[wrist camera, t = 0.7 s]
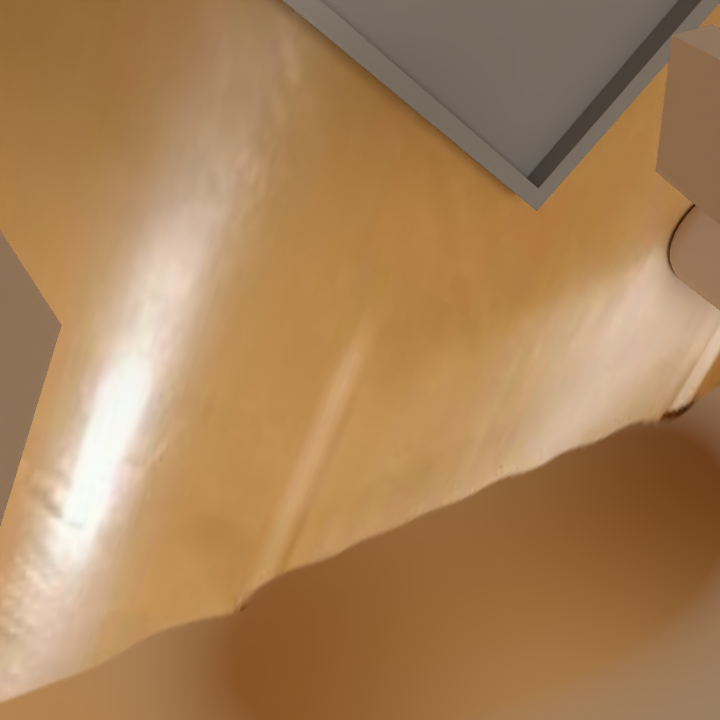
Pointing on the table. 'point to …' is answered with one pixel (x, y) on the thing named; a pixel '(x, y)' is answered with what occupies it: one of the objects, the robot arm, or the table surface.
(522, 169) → the tray
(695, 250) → the milk bottle
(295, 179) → the table surface
